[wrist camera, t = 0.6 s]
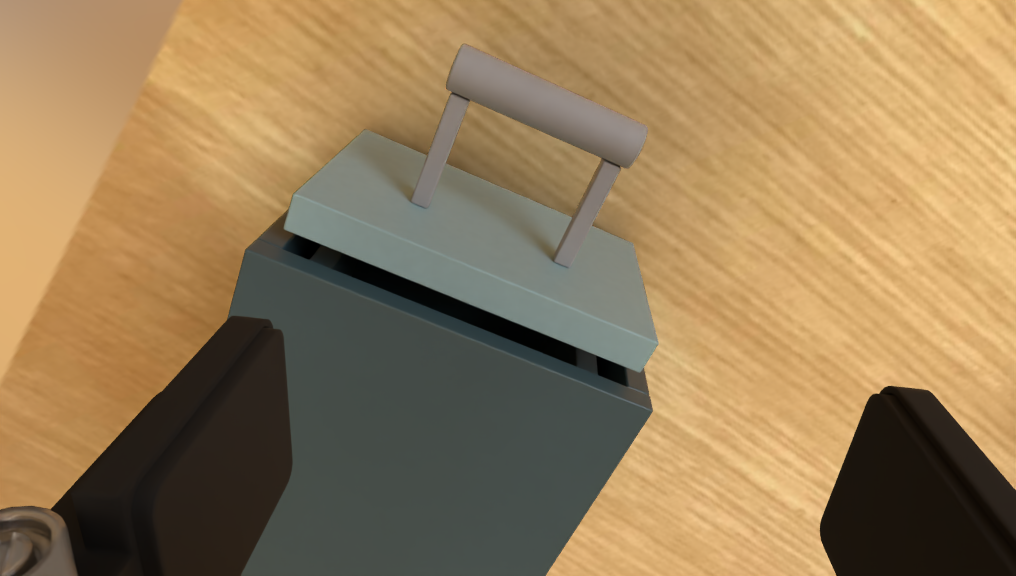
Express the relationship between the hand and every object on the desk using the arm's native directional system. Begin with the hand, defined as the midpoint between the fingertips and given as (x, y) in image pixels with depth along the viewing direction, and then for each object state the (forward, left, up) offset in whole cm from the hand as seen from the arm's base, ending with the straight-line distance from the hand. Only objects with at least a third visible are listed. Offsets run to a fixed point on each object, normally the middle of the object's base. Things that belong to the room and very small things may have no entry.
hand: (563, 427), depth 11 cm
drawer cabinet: (+2, -11, -17) cm, 21 cm away
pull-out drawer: (+1, -6, -17) cm, 18 cm away
